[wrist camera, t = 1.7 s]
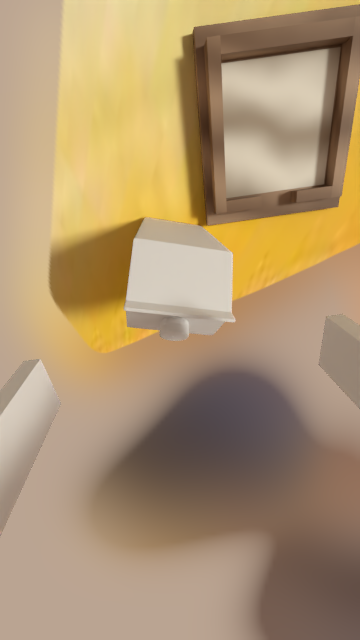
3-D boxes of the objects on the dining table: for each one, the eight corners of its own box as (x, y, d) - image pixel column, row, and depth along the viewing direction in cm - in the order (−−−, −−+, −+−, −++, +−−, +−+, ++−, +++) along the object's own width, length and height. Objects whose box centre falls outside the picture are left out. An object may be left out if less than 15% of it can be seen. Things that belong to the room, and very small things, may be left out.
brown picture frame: (192, 33, 24) (196, 17, 22) (361, 10, 24) (381, -9, 22) (206, 224, 32) (210, 227, 29) (333, 206, 32) (346, 207, 30)
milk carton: (144, 216, 31) (127, 249, 14) (201, 225, 32) (250, 267, 15) (139, 273, 34) (120, 356, 17) (191, 280, 35) (222, 365, 18)
